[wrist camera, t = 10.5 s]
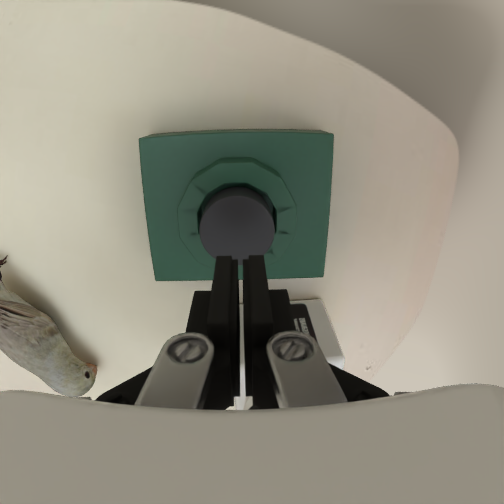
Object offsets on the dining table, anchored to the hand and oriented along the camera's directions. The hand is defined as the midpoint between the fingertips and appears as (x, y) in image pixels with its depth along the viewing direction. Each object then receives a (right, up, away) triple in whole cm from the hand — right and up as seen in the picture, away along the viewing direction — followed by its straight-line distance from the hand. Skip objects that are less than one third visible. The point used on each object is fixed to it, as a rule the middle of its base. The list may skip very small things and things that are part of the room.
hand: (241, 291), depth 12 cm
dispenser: (-1, +5, +11) cm, 13 cm away
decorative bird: (-21, -5, +16) cm, 26 cm away
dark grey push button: (0, +3, +7) cm, 8 cm away
